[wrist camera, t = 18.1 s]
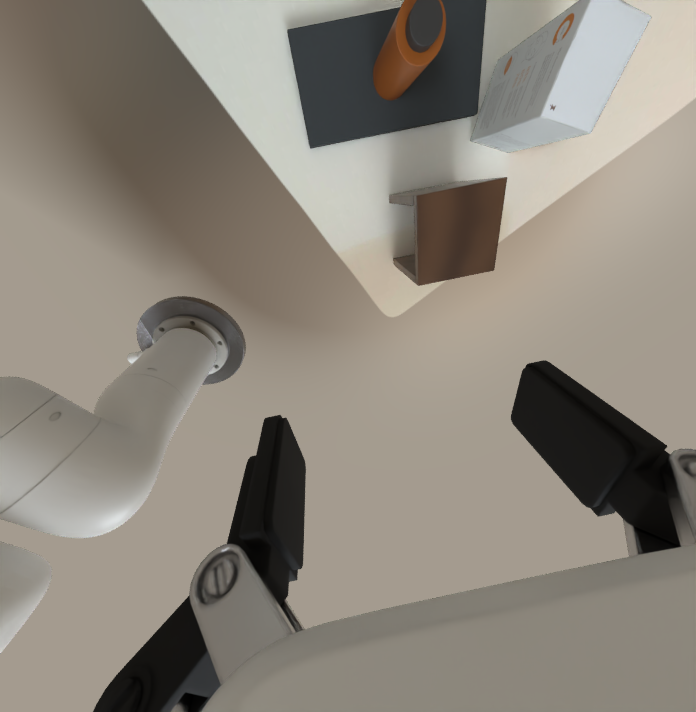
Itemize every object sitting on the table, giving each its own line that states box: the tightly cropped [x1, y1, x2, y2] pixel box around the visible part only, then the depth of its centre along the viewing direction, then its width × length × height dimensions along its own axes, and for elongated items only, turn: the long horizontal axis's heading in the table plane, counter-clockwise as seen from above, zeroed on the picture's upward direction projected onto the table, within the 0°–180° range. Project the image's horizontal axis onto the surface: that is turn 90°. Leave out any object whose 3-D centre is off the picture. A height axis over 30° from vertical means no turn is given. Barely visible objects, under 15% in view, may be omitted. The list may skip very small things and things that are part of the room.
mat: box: [287, 0, 486, 148], centre depth 31 cm, size 22×10×1 cm, turn 100°
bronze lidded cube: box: [389, 177, 507, 286], centre depth 35 cm, size 10×10×12 cm
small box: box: [471, 0, 651, 153], centre depth 28 cm, size 8×6×13 cm
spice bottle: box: [373, 0, 446, 101], centre depth 26 cm, size 4×4×11 cm
